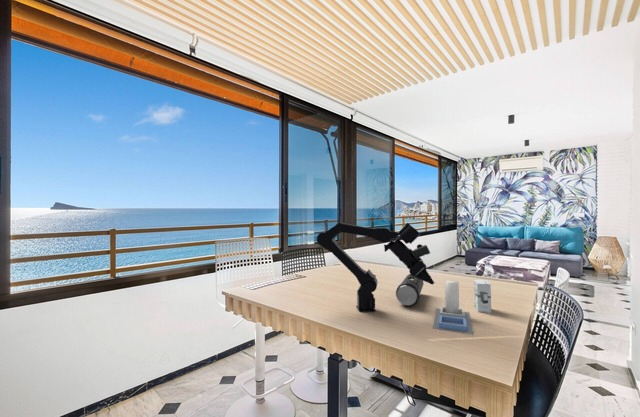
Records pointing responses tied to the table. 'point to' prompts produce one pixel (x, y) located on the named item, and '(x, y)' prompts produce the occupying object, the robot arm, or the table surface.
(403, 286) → the black silver cylinder
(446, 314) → the duct plate
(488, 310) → the ink box
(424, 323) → the table surface
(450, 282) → the white piece
